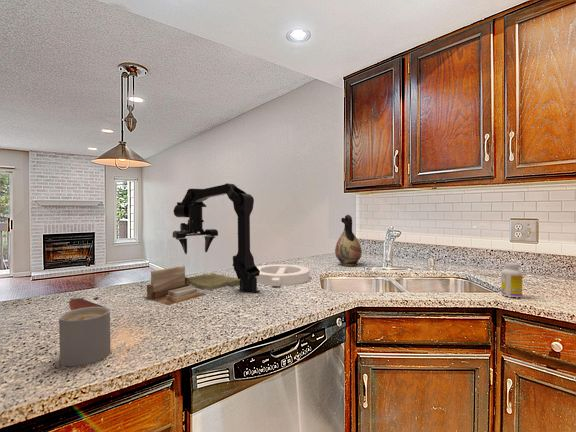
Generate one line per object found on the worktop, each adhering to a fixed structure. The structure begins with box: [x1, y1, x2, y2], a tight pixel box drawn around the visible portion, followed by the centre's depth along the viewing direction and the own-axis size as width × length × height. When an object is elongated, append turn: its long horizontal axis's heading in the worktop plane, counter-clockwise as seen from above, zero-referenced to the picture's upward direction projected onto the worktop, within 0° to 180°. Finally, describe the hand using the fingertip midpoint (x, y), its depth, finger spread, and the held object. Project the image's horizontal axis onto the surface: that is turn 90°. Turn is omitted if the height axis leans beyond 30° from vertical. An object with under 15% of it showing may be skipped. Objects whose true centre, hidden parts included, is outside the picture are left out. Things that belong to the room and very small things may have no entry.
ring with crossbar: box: [256, 263, 311, 287], centre depth 157 cm, size 28×28×5 cm
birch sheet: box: [150, 264, 186, 299], centre depth 125 cm, size 1×14×10 cm, turn 145°
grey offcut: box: [168, 285, 198, 297], centre depth 120 cm, size 5×9×2 cm, turn 145°
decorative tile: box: [188, 272, 240, 291], centre depth 143 cm, size 19×20×4 cm
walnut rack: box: [142, 276, 207, 306], centre depth 122 cm, size 16×17×6 cm
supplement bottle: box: [500, 262, 523, 298], centre depth 126 cm, size 7×7×13 cm
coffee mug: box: [58, 306, 111, 367], centre depth 77 cm, size 13×10×10 cm
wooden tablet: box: [68, 295, 104, 311], centre depth 111 cm, size 27×10×2 cm, turn 37°
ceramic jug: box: [334, 214, 363, 267], centre depth 192 cm, size 17×15×30 cm
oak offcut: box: [166, 291, 200, 303], centre depth 120 cm, size 6×10×2 cm, turn 145°
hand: (196, 253), depth 142 cm, fingers open, 9 cm apart
